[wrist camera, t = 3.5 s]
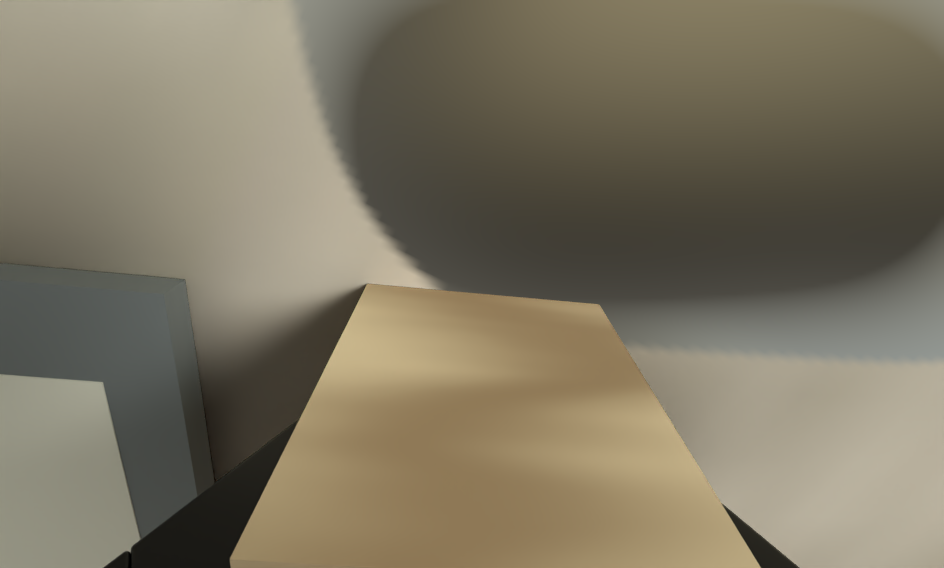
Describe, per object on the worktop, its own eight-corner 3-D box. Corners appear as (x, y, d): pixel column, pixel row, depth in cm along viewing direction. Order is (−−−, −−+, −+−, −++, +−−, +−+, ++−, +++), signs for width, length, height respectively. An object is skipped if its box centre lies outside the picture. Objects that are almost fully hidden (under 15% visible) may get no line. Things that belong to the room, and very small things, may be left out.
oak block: (598, 304, 8) (775, 589, 3) (558, 478, 10) (644, 837, 5) (367, 284, 8) (228, 559, 3) (364, 465, 9) (267, 825, 5)
